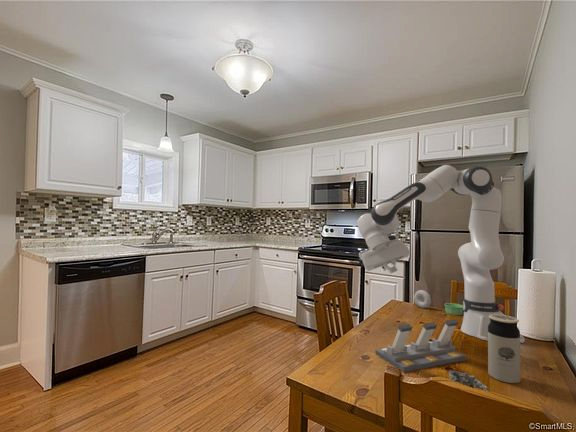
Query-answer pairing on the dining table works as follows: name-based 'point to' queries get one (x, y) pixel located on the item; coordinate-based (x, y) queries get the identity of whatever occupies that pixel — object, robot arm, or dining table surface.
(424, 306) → the donut
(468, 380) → the egg carton
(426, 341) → the lever middle
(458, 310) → the ramekin
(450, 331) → the lever inner
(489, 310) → the robot arm
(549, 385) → the dining table surface
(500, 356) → the travel mug
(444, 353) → the switch panel
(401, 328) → the lever outer
